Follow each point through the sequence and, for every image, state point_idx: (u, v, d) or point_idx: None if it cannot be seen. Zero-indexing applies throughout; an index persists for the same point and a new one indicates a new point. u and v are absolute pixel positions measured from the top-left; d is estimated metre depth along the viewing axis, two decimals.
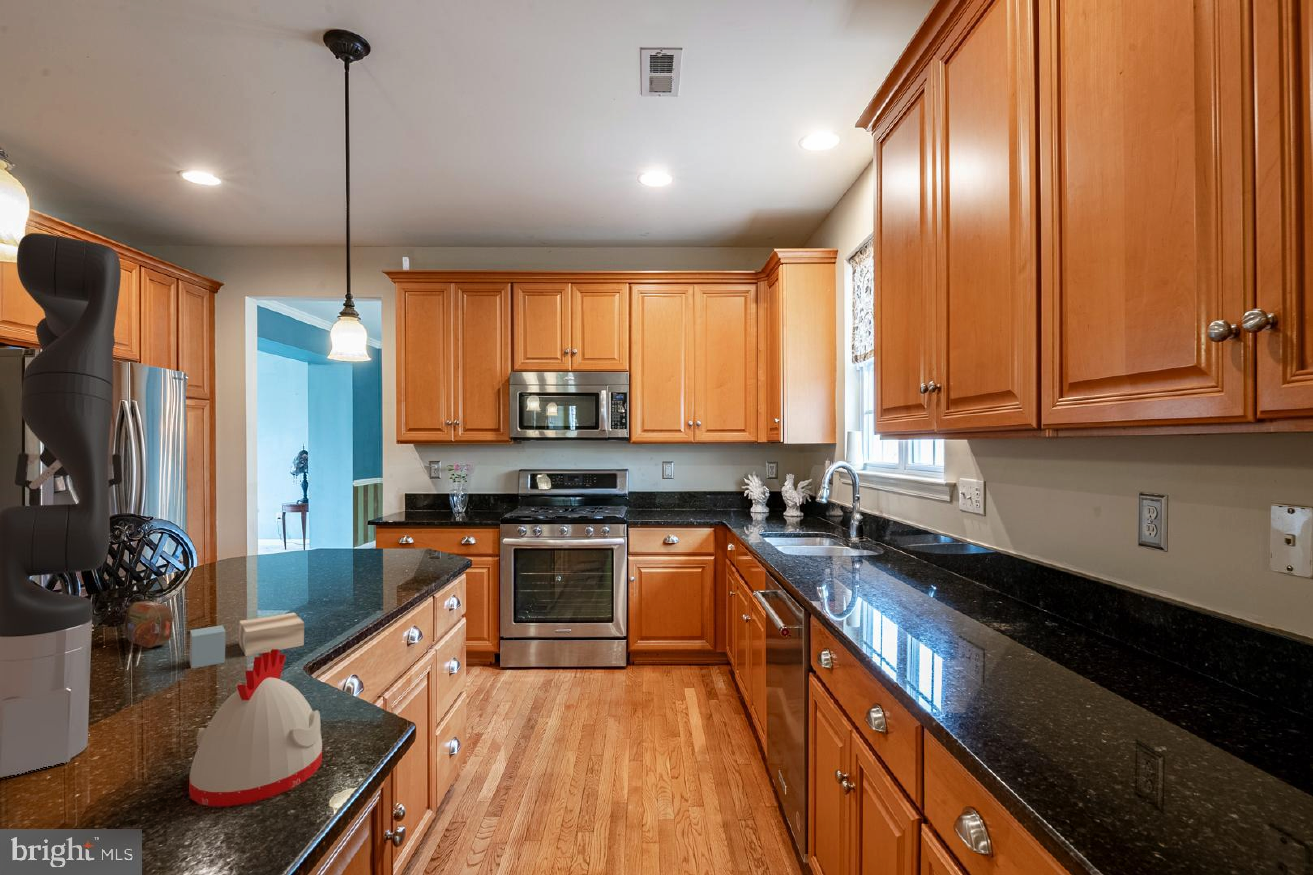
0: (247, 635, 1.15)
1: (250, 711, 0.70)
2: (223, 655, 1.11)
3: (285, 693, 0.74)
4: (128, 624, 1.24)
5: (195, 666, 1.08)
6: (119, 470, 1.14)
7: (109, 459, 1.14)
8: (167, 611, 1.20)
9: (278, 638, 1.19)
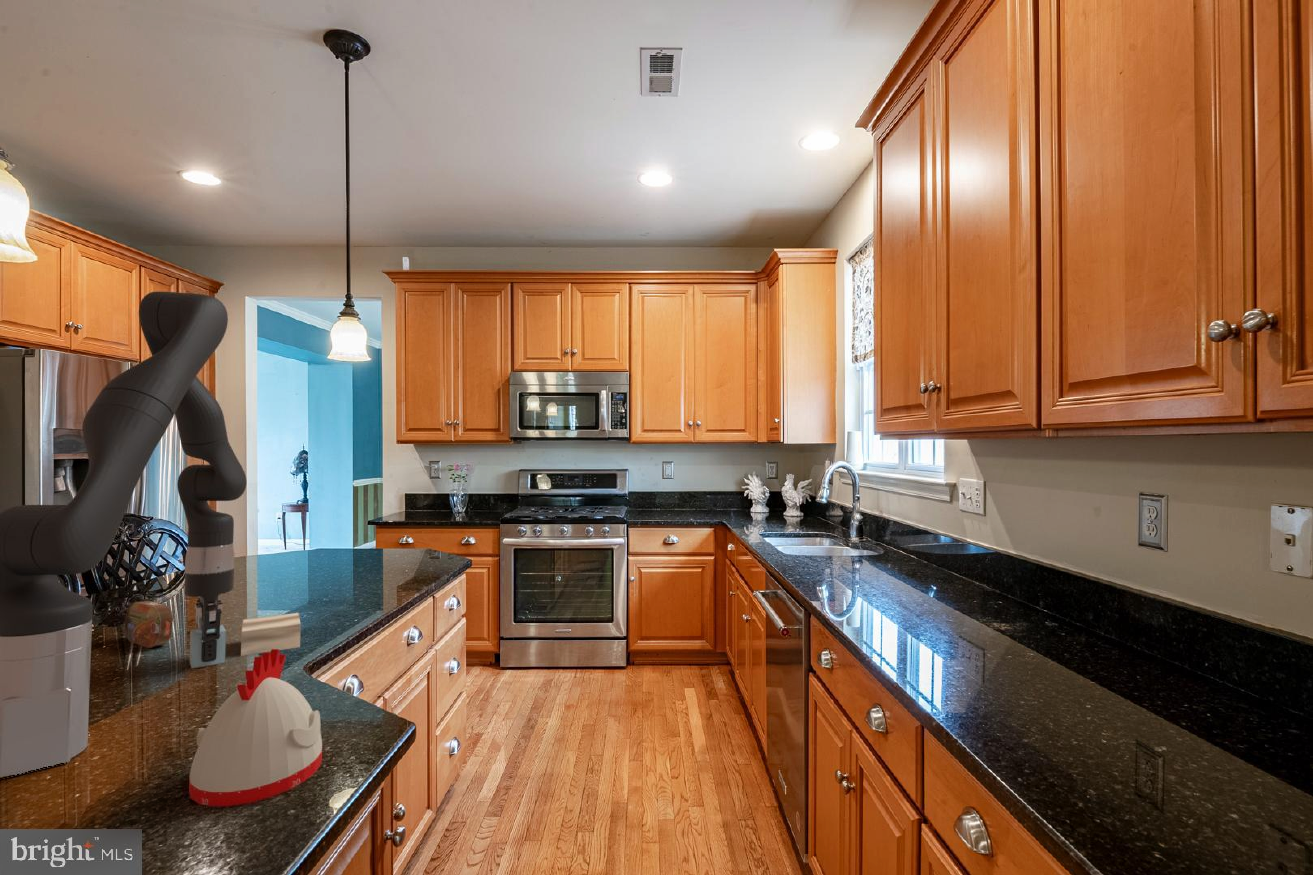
0: (242, 635, 1.15)
1: (250, 711, 0.70)
2: (223, 655, 1.11)
3: (285, 693, 0.74)
4: (128, 624, 1.24)
5: (195, 666, 1.08)
6: None
7: None
8: (167, 611, 1.20)
9: (274, 639, 1.18)
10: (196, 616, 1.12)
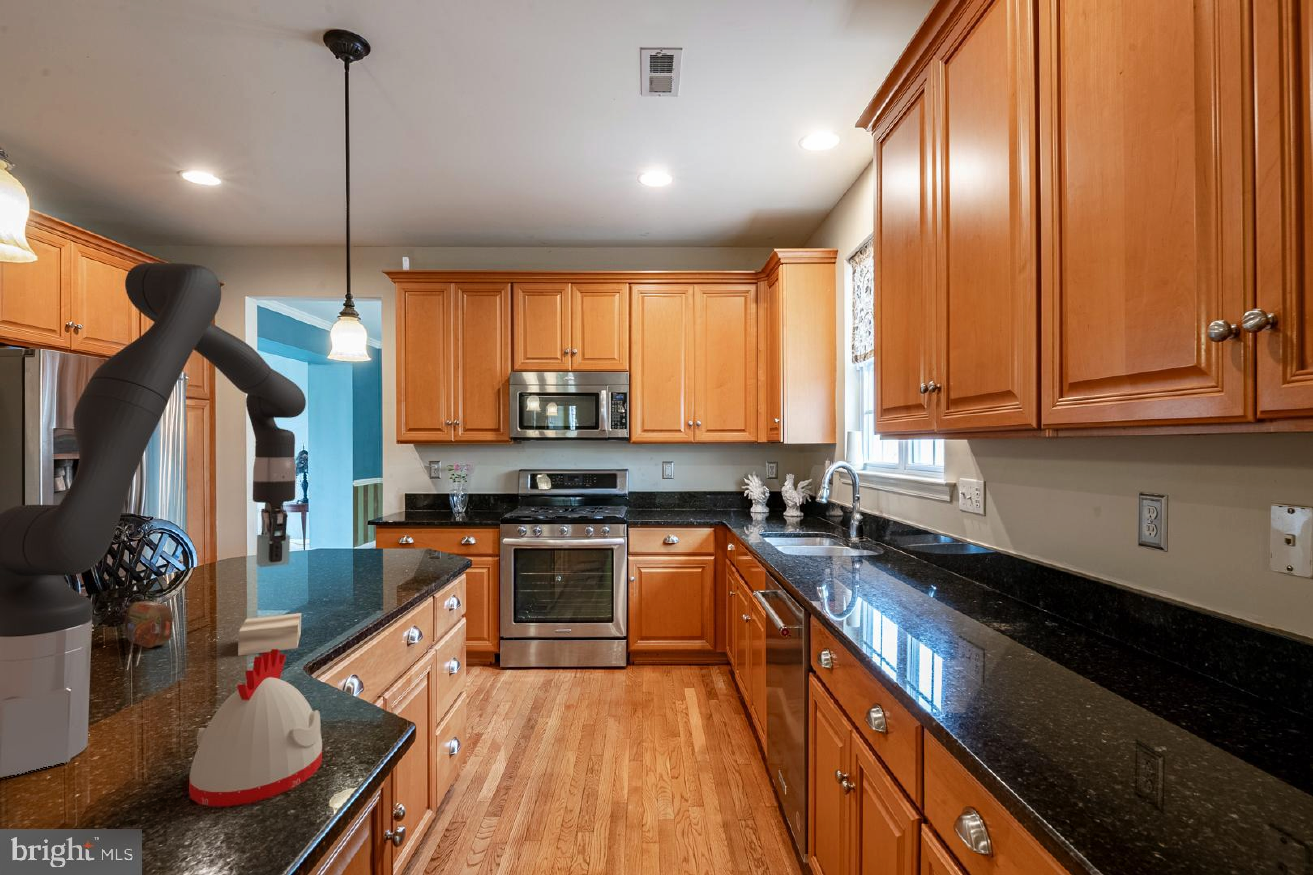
0: (240, 634, 1.15)
1: (250, 710, 0.70)
2: (288, 557, 1.22)
3: (285, 693, 0.74)
4: (128, 624, 1.24)
5: (264, 565, 1.19)
6: None
7: None
8: (167, 611, 1.20)
9: (271, 639, 1.18)
10: (262, 522, 1.23)
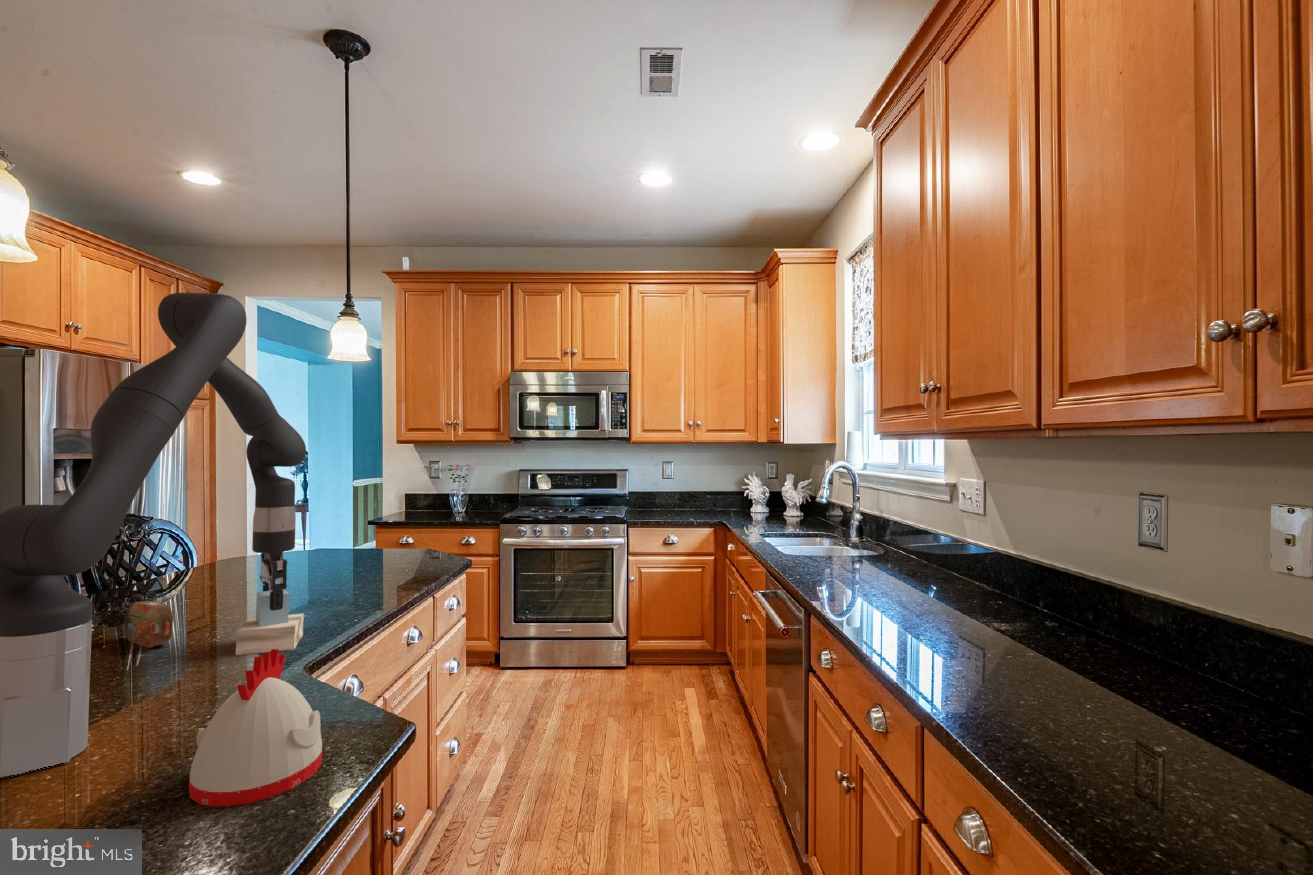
0: (237, 634, 1.16)
1: (250, 711, 0.70)
2: (287, 615, 1.22)
3: (285, 693, 0.74)
4: (128, 624, 1.24)
5: (263, 624, 1.19)
6: None
7: None
8: (167, 611, 1.20)
9: (268, 640, 1.18)
10: (261, 570, 1.23)
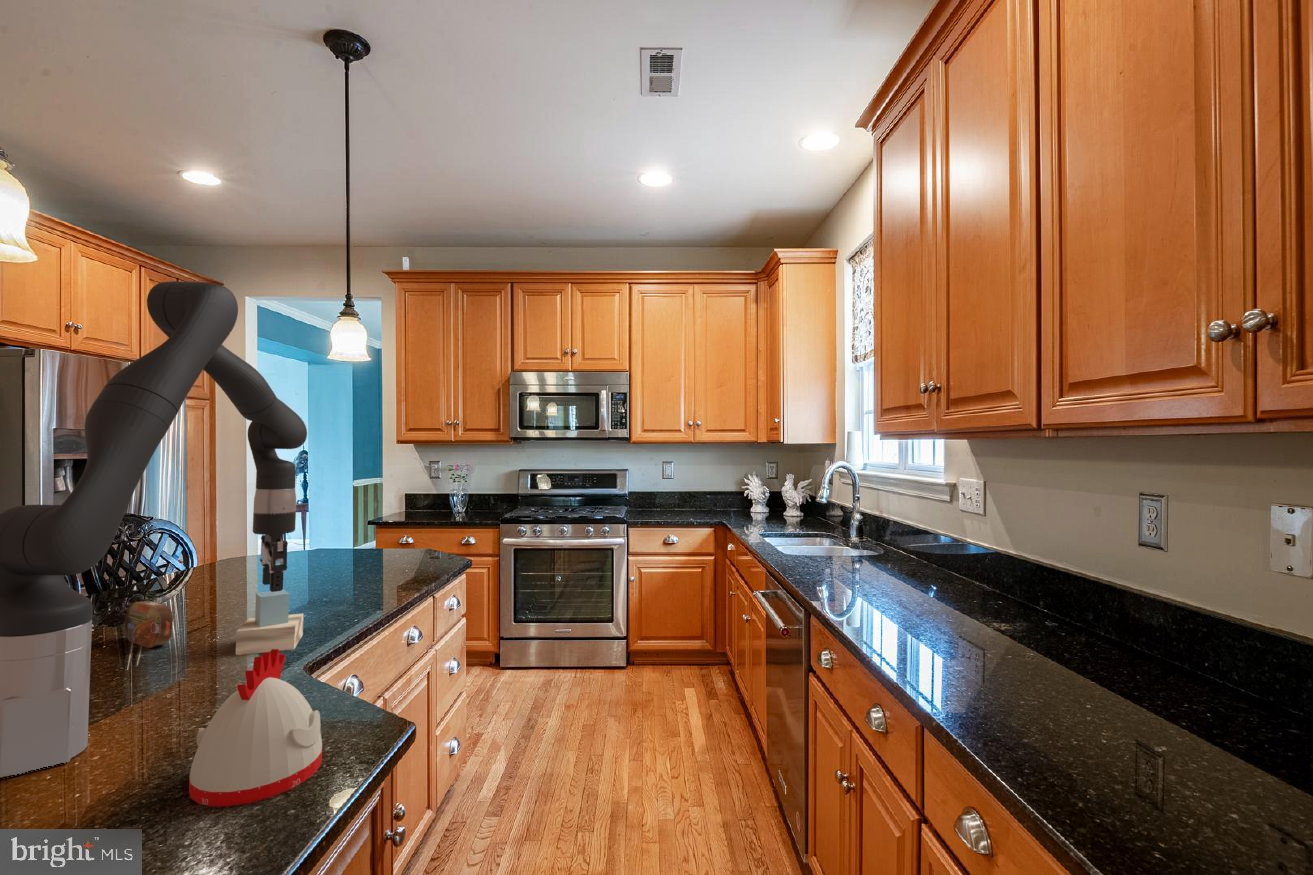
0: (237, 634, 1.16)
1: (250, 710, 0.70)
2: (287, 615, 1.22)
3: (285, 693, 0.74)
4: (128, 624, 1.24)
5: (263, 624, 1.19)
6: None
7: None
8: (167, 611, 1.20)
9: (268, 640, 1.17)
10: (261, 552, 1.23)
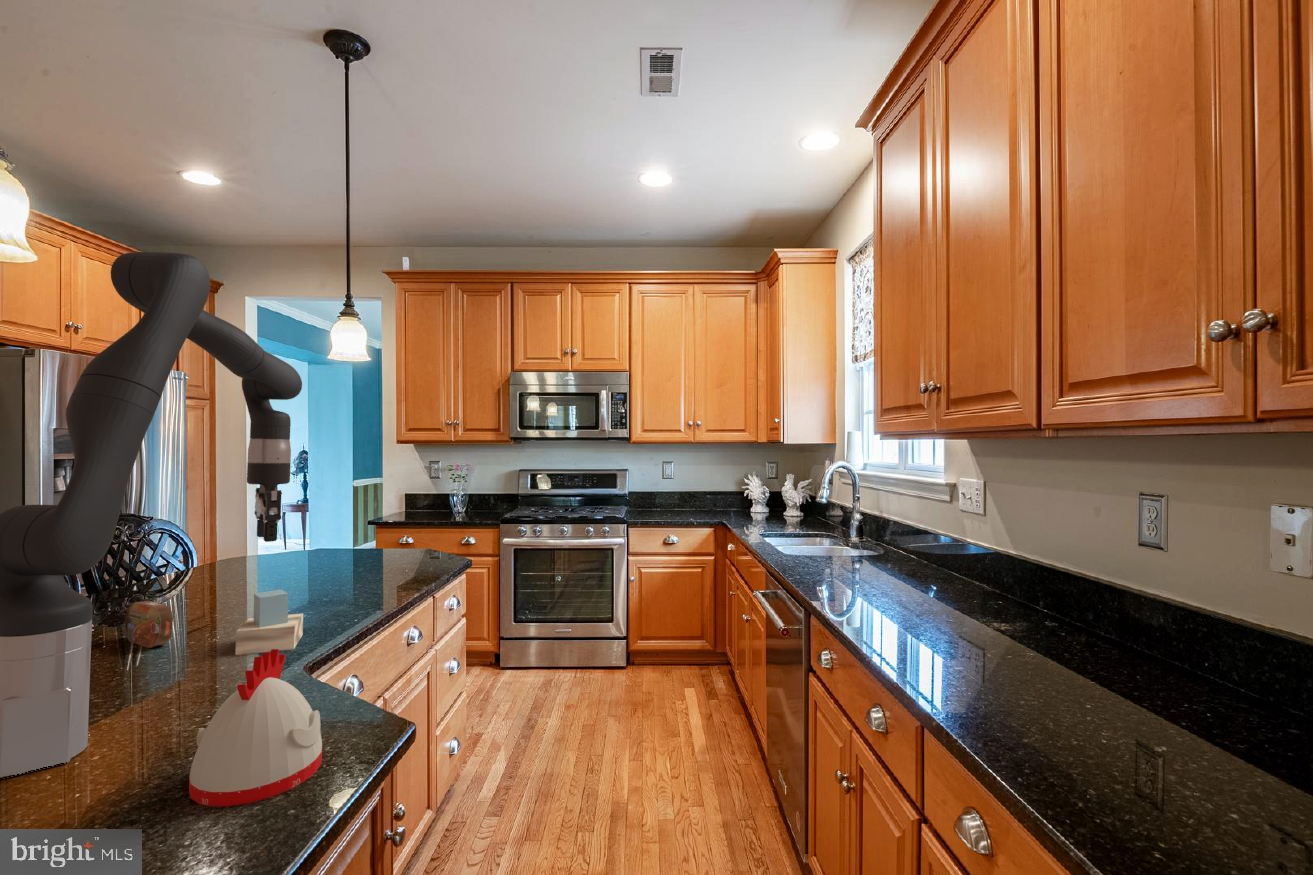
0: (237, 634, 1.16)
1: (250, 710, 0.70)
2: (286, 615, 1.22)
3: (284, 693, 0.74)
4: (128, 624, 1.24)
5: (263, 625, 1.19)
6: None
7: None
8: (167, 611, 1.20)
9: (268, 640, 1.18)
10: (256, 504, 1.22)
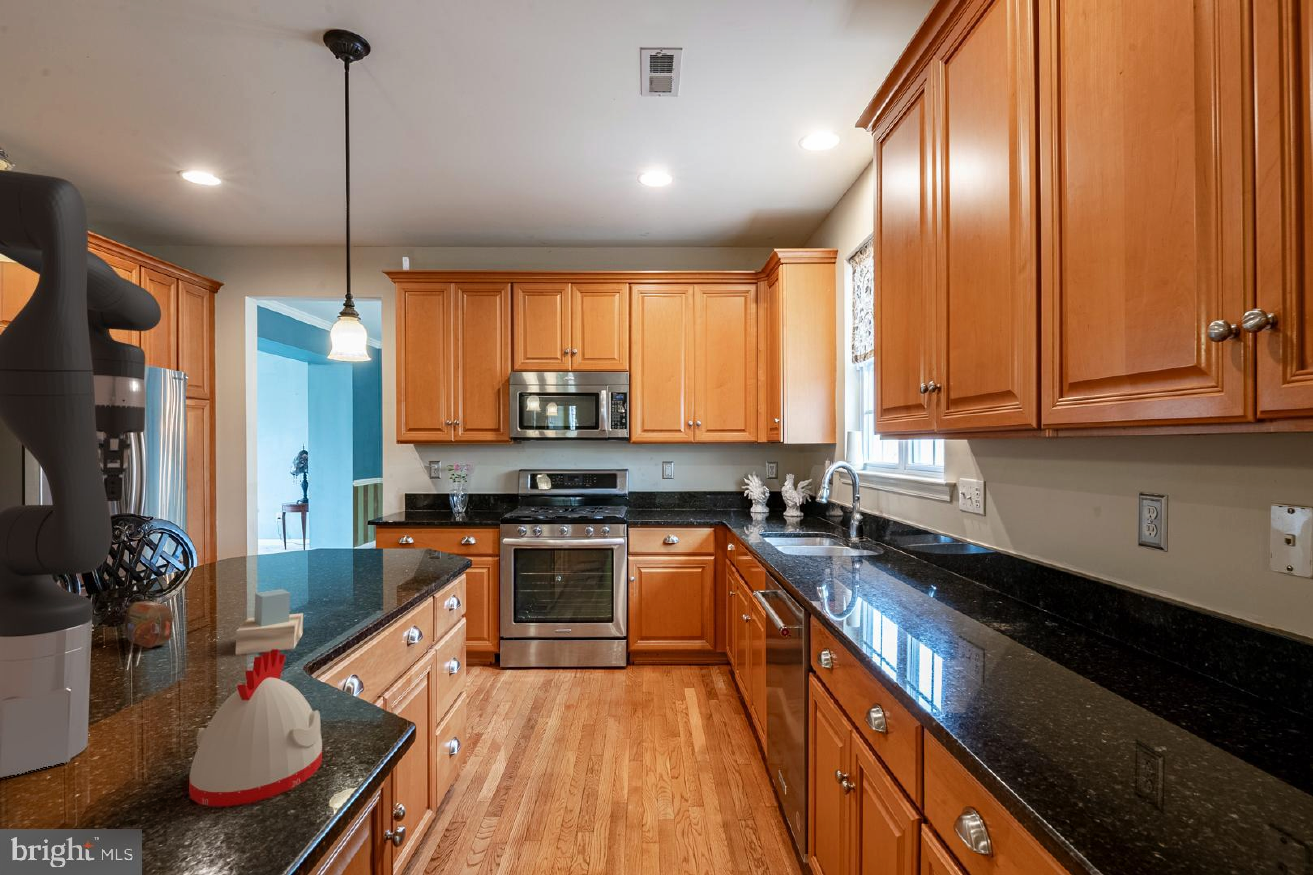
0: (237, 634, 1.16)
1: (250, 711, 0.70)
2: (288, 614, 1.22)
3: (285, 693, 0.74)
4: (128, 624, 1.24)
5: (264, 624, 1.19)
6: None
7: None
8: (167, 611, 1.20)
9: (268, 639, 1.18)
10: None
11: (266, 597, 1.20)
